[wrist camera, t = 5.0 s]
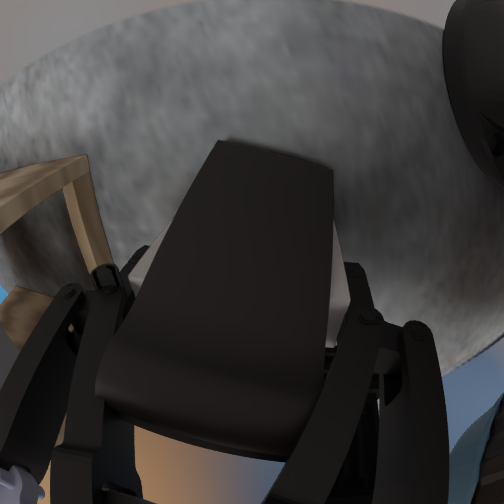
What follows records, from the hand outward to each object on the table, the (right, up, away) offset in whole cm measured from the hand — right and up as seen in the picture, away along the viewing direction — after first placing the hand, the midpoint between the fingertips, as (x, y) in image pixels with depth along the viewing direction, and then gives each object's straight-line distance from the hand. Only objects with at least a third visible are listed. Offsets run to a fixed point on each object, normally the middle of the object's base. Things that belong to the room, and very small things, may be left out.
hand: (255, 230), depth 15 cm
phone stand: (0, 0, +1) cm, 1 cm away
